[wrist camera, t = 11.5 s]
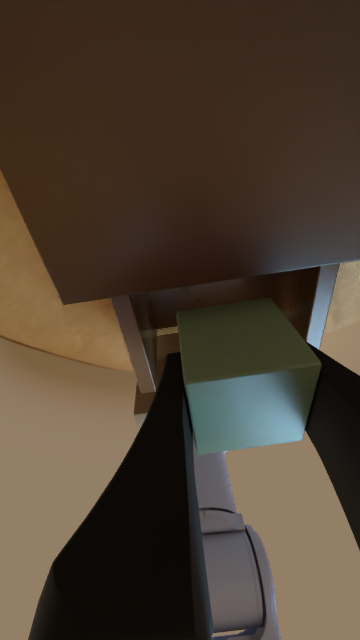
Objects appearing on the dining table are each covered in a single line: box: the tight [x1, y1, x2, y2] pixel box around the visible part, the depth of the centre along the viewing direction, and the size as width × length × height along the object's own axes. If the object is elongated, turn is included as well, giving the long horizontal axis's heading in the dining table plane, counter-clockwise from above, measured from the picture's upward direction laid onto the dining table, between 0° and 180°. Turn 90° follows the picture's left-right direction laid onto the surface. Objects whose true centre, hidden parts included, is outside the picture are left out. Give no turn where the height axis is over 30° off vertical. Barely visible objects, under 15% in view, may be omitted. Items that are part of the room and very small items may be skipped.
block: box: [176, 298, 321, 455], centre depth 10 cm, size 4×4×4 cm
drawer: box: [110, 263, 340, 427], centre depth 14 cm, size 17×10×7 cm, turn 8°
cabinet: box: [0, 0, 360, 305], centre depth 8 cm, size 14×12×9 cm
